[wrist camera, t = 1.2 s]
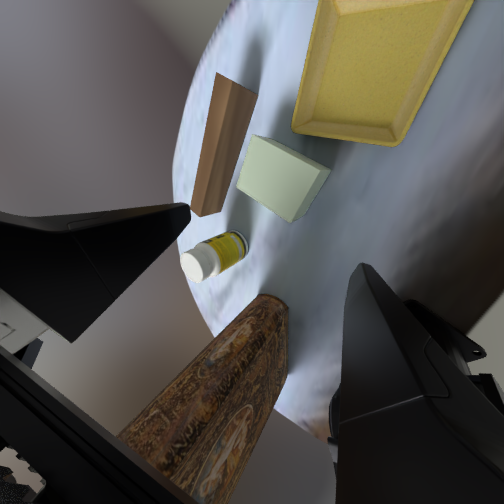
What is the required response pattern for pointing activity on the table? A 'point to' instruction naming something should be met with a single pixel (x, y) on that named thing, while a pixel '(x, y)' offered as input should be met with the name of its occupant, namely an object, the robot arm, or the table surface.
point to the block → (280, 178)
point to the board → (221, 144)
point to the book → (217, 405)
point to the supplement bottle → (214, 256)
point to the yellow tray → (373, 66)
